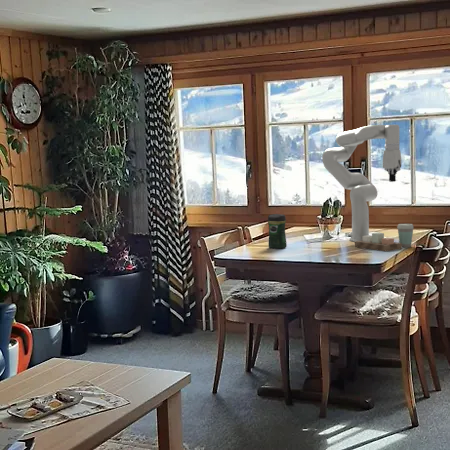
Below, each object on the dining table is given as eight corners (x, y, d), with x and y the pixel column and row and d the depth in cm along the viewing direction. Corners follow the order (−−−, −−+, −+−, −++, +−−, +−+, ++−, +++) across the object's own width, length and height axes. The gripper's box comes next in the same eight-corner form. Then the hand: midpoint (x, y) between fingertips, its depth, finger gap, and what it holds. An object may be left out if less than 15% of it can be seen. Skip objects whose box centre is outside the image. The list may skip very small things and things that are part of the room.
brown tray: (355, 246, 362) (355, 241, 362) (370, 244, 369) (370, 239, 369) (385, 251, 344) (385, 245, 344) (401, 248, 351) (401, 243, 350)
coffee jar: (288, 247, 368) (288, 213, 365) (281, 249, 361) (280, 215, 359) (274, 246, 373) (273, 213, 371) (266, 248, 367) (265, 214, 365)
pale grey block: (362, 245, 363) (362, 236, 362) (368, 244, 365) (368, 235, 365) (368, 246, 359) (368, 236, 359) (374, 245, 362) (374, 236, 361)
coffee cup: (414, 247, 352) (414, 225, 351) (397, 247, 354) (397, 225, 353) (413, 245, 361) (413, 223, 359) (396, 245, 362) (396, 223, 361)
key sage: (371, 242, 357) (371, 233, 356) (377, 241, 359) (377, 232, 359) (378, 243, 353) (378, 234, 353) (383, 242, 356) (383, 233, 355)
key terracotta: (381, 248, 351) (381, 238, 351) (387, 247, 354) (387, 237, 353) (388, 248, 348) (388, 239, 347) (394, 248, 350) (394, 238, 349)
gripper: (377, 148, 367) (377, 181, 369) (397, 147, 354) (397, 182, 357) (387, 147, 371) (387, 180, 373) (407, 147, 358) (407, 181, 360)
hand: (392, 181), depth 365 cm, fingers closed
